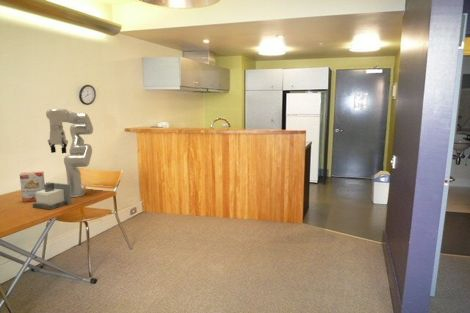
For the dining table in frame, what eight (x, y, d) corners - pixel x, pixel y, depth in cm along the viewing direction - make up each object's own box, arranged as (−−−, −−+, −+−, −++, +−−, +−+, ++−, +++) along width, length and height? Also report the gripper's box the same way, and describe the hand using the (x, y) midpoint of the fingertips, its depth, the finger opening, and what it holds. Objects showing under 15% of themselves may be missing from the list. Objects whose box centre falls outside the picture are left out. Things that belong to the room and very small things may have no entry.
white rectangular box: (50, 199, 230) (49, 181, 228) (64, 200, 225) (63, 182, 223) (35, 203, 219) (33, 185, 217) (50, 205, 214) (48, 186, 212)
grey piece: (50, 201, 233) (48, 182, 231) (71, 203, 226) (69, 184, 224) (30, 207, 219) (28, 187, 217) (52, 210, 212) (50, 189, 210)
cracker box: (22, 202, 231) (19, 173, 227) (24, 200, 236) (21, 172, 233) (44, 200, 235) (41, 172, 232) (46, 198, 241) (43, 170, 237)
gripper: (70, 127, 218) (72, 152, 221) (51, 127, 224) (54, 151, 227) (61, 128, 211) (63, 154, 214) (42, 127, 217) (44, 153, 220)
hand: (58, 152), depth 221 cm, fingers open, 9 cm apart
